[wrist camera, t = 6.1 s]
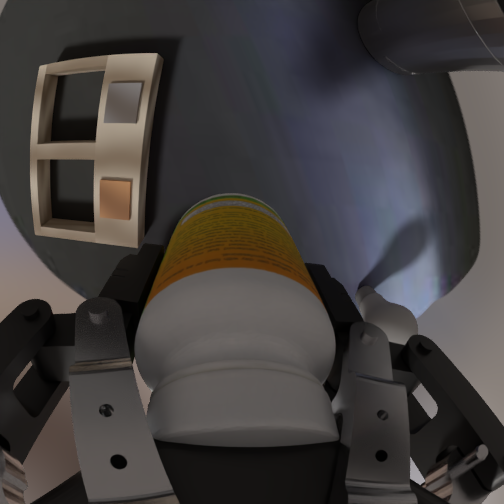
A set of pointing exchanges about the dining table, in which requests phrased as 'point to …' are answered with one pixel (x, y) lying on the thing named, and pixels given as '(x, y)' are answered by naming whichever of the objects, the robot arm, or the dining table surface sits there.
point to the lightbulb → (386, 315)
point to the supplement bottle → (235, 334)
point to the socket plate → (100, 148)
